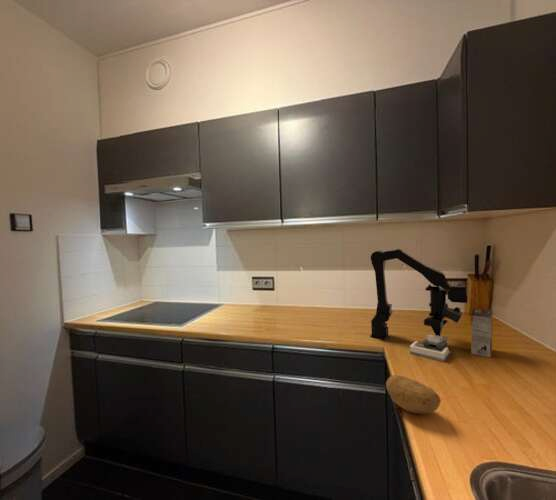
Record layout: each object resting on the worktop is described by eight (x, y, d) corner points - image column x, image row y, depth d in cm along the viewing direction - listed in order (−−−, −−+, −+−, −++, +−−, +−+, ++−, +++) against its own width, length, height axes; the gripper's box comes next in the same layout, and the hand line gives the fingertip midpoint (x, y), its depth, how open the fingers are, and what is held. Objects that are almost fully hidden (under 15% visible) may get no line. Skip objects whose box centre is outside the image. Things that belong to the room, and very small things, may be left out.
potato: (430, 430, 71) (430, 399, 71) (379, 405, 82) (379, 377, 82) (447, 414, 77) (447, 384, 77) (397, 392, 88) (397, 366, 88)
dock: (409, 353, 115) (409, 346, 115) (418, 345, 123) (418, 338, 123) (443, 361, 107) (443, 353, 107) (450, 352, 115) (450, 344, 115)
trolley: (421, 346, 118) (421, 334, 119) (427, 344, 125) (427, 333, 125) (443, 351, 113) (443, 339, 113) (448, 348, 119) (448, 337, 120)
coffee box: (473, 346, 120) (473, 307, 119) (492, 349, 116) (492, 309, 115) (470, 353, 113) (470, 312, 112) (491, 357, 109) (491, 315, 108)
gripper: (454, 309, 110) (455, 349, 111) (465, 299, 123) (465, 335, 124) (423, 304, 117) (423, 342, 118) (436, 296, 131) (436, 330, 132)
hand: (438, 337), depth 123 cm, fingers closed
